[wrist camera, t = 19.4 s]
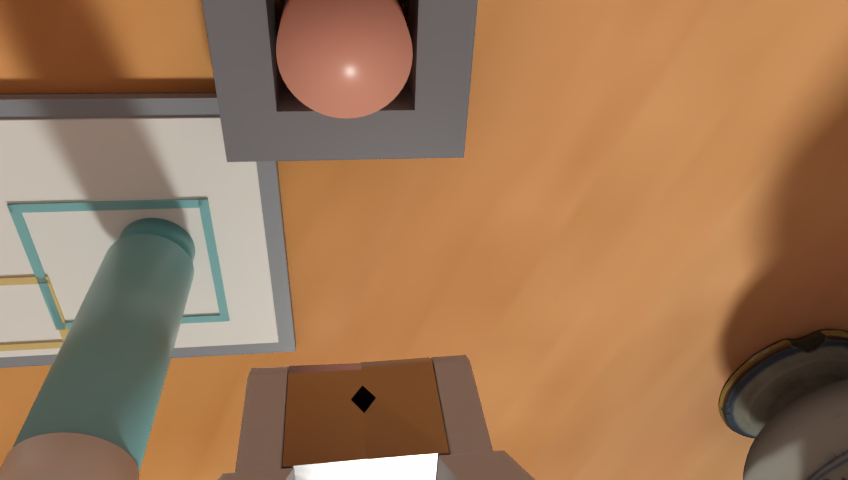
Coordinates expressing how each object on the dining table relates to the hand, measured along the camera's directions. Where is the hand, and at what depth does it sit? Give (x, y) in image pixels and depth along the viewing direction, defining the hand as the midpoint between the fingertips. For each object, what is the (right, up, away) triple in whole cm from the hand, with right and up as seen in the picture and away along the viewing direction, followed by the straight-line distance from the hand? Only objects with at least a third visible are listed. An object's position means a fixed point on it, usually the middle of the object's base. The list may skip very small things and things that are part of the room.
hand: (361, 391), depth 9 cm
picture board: (-14, +2, +19) cm, 24 cm away
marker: (-11, +2, +19) cm, 22 cm away
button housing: (-2, +11, +15) cm, 19 cm away
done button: (-2, +10, +15) cm, 18 cm away
